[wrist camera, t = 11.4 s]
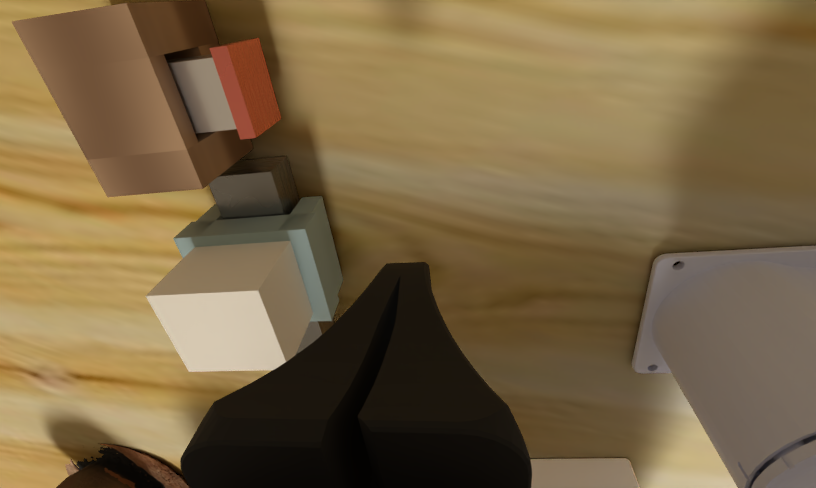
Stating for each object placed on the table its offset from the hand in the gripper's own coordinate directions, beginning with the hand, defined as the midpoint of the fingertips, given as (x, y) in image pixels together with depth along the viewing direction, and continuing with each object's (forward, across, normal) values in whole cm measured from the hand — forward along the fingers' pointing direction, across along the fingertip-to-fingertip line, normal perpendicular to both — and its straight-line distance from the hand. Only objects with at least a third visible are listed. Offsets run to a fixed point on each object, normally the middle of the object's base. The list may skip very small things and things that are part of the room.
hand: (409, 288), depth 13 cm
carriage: (+8, +8, +2) cm, 11 cm away
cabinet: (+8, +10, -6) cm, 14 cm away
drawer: (+6, +8, -6) cm, 12 cm away
